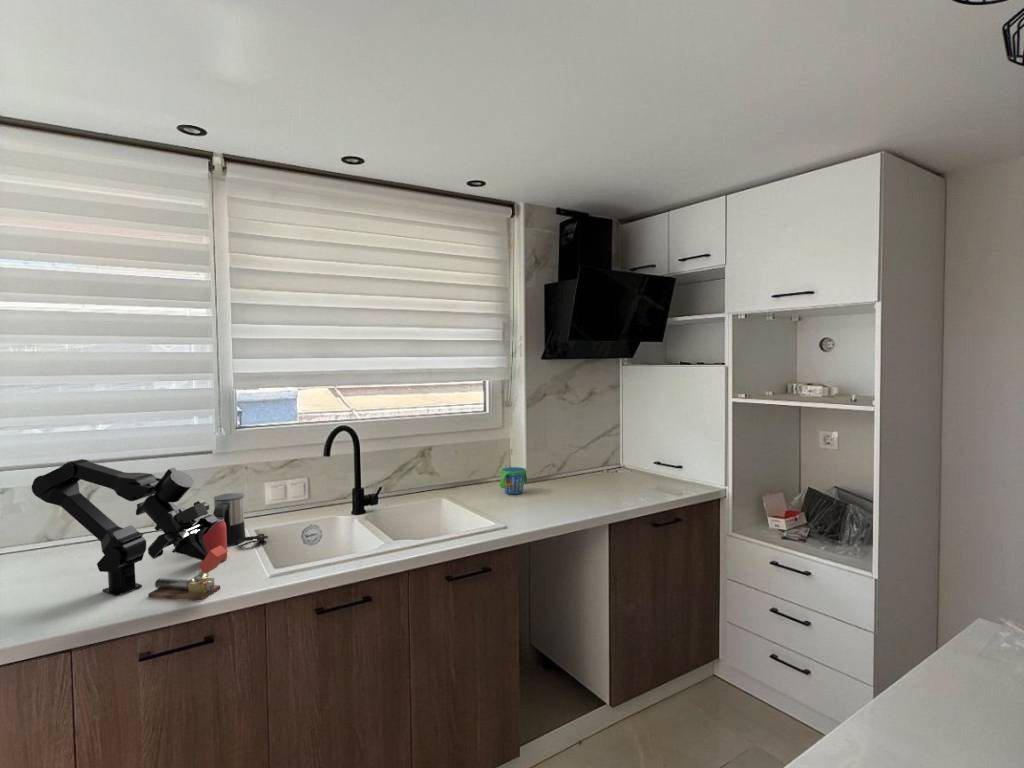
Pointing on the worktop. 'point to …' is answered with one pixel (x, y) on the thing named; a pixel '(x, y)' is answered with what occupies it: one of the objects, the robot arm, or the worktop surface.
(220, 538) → the beer can
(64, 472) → the robot arm
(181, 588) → the valve body
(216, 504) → the milk frother
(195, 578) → the valve lever
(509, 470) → the snack cup
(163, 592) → the walnut board
